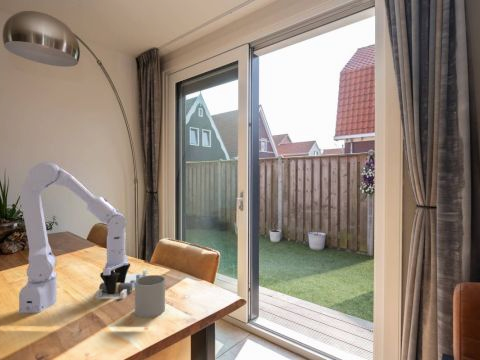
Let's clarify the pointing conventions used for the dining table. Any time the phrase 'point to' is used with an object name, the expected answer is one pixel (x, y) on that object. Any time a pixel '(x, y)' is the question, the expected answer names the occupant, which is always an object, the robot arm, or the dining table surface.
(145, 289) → the cup
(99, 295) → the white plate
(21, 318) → the dining table surface
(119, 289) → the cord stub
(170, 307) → the dining table surface
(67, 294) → the dining table surface
